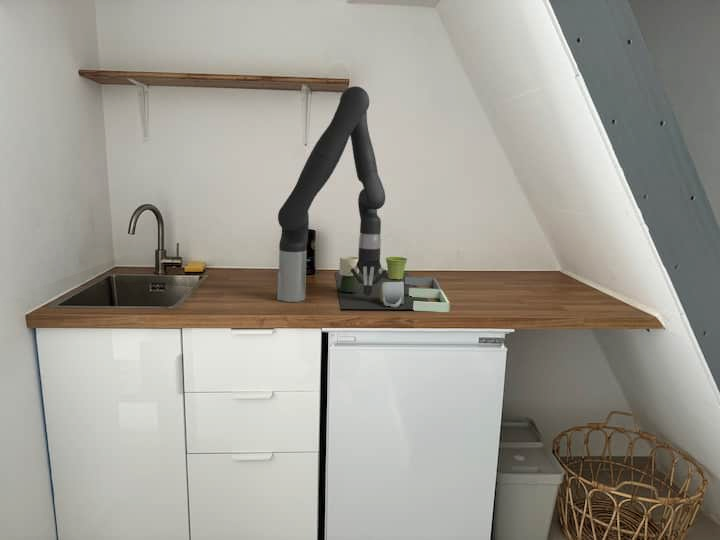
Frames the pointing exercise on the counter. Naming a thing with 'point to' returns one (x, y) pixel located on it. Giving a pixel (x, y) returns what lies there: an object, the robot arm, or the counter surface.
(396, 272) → the plant pot
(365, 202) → the robot arm
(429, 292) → the corral green
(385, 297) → the ceramic mug
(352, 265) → the character mug
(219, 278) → the counter surface
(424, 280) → the corral charcoal
